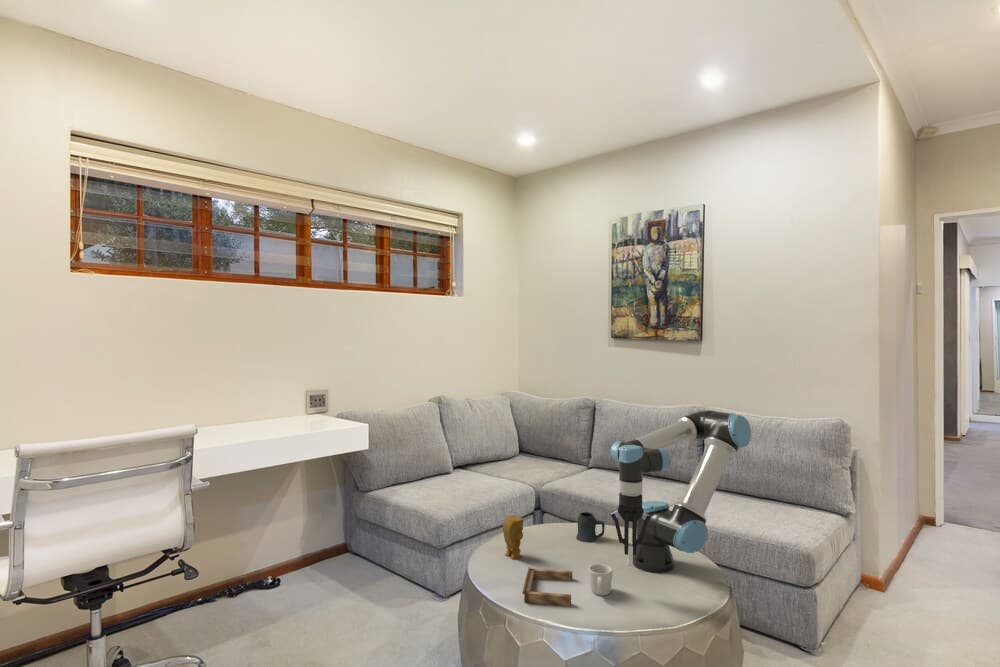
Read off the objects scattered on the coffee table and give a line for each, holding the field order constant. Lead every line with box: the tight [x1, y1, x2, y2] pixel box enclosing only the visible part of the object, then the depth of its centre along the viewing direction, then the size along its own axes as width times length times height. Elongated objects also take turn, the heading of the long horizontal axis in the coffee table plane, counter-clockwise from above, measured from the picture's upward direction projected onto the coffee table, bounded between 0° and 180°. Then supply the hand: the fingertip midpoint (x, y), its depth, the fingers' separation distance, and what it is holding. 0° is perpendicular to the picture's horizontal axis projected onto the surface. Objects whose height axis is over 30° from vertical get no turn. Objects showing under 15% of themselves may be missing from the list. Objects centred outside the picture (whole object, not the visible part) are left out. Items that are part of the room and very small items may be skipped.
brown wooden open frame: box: [522, 566, 573, 607], centre depth 185 cm, size 16×19×4 cm
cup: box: [588, 563, 613, 596], centre depth 182 cm, size 11×8×8 cm
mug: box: [575, 511, 606, 543], centre depth 229 cm, size 12×9×11 cm
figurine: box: [502, 514, 524, 561], centre depth 213 cm, size 7×7×15 cm
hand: (630, 564), depth 181 cm, fingers closed
